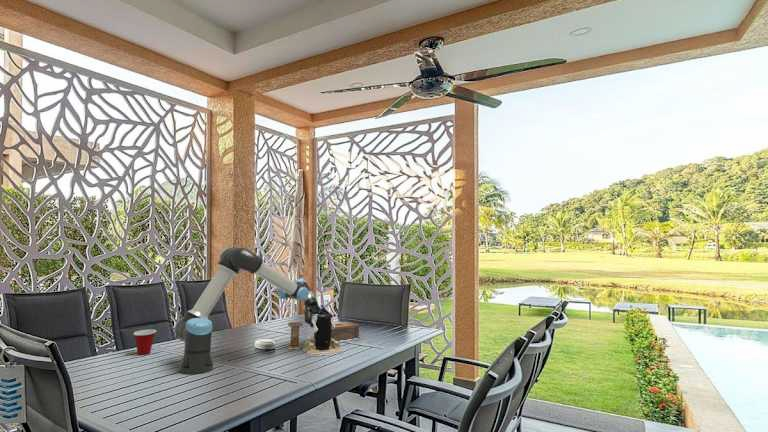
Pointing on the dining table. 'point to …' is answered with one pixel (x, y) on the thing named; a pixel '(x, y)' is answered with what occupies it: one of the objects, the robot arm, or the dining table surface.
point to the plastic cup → (144, 341)
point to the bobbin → (294, 335)
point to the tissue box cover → (344, 331)
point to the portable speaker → (323, 332)
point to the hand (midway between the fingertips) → (325, 329)
